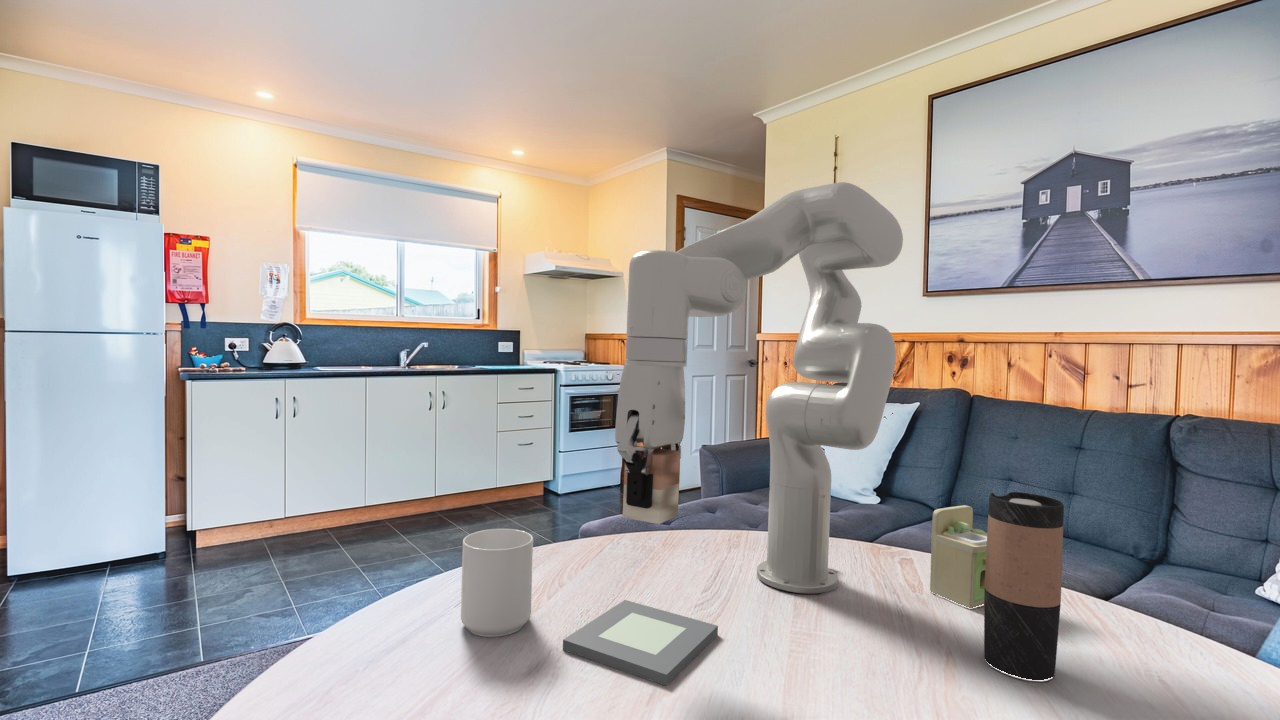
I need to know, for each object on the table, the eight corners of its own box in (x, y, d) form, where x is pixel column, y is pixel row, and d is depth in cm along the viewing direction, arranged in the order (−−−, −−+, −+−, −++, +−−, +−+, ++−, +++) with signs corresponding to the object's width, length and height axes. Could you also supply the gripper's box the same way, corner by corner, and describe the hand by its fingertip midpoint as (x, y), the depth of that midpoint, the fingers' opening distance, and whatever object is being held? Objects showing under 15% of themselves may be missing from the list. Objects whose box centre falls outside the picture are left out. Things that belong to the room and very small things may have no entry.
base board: (624, 608, 85) (624, 599, 85) (717, 635, 78) (717, 625, 78) (562, 649, 73) (563, 639, 73) (666, 685, 65) (666, 674, 65)
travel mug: (1059, 691, 67) (1067, 510, 66) (979, 670, 71) (986, 499, 70) (1055, 662, 73) (1063, 497, 73) (983, 644, 77) (989, 488, 77)
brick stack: (642, 508, 78) (645, 446, 78) (677, 515, 75) (680, 451, 75) (622, 517, 74) (625, 451, 73) (659, 524, 71) (661, 456, 71)
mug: (520, 642, 74) (522, 551, 74) (449, 637, 75) (451, 547, 75) (543, 601, 86) (545, 523, 86) (482, 597, 87) (484, 520, 86)
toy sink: (973, 612, 87) (977, 521, 87) (928, 593, 94) (932, 508, 93) (1010, 603, 91) (1014, 516, 91) (965, 585, 97) (968, 504, 97)
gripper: (661, 354, 84) (656, 485, 84) (591, 351, 69) (585, 511, 69) (712, 355, 80) (706, 493, 80) (649, 353, 65) (643, 522, 65)
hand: (650, 500), depth 75 cm, fingers closed on brick stack, 5 cm apart
